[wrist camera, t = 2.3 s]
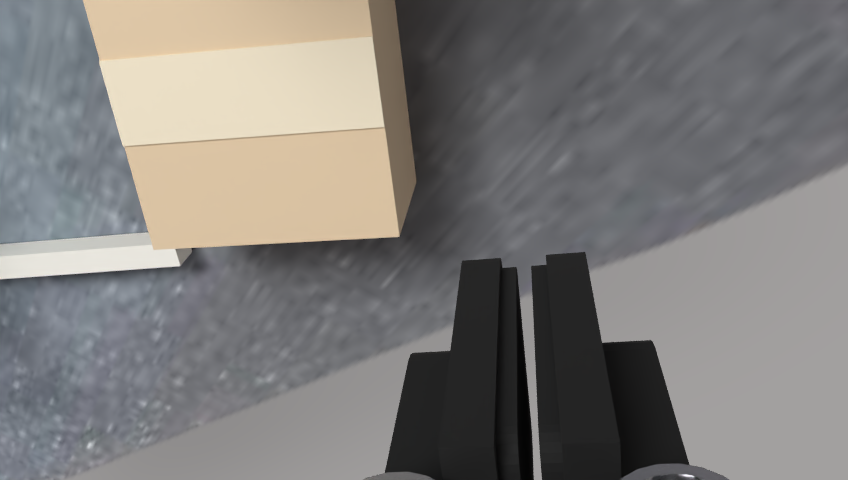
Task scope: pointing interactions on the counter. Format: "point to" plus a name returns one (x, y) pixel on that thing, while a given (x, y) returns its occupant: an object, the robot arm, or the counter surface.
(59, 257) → the display stand
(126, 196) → the counter surface
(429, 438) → the robot arm
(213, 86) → the kraft carton
